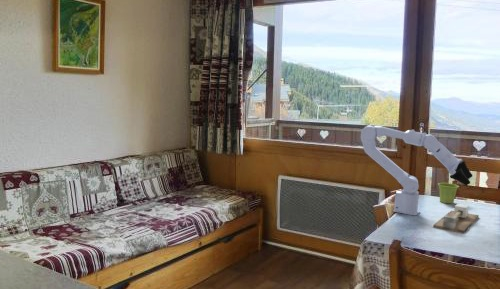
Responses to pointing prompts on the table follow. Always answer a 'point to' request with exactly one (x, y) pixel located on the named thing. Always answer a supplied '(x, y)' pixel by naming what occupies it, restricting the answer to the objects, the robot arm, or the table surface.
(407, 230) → the table surface
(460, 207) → the sleeve
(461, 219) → the board
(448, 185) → the plant pot
